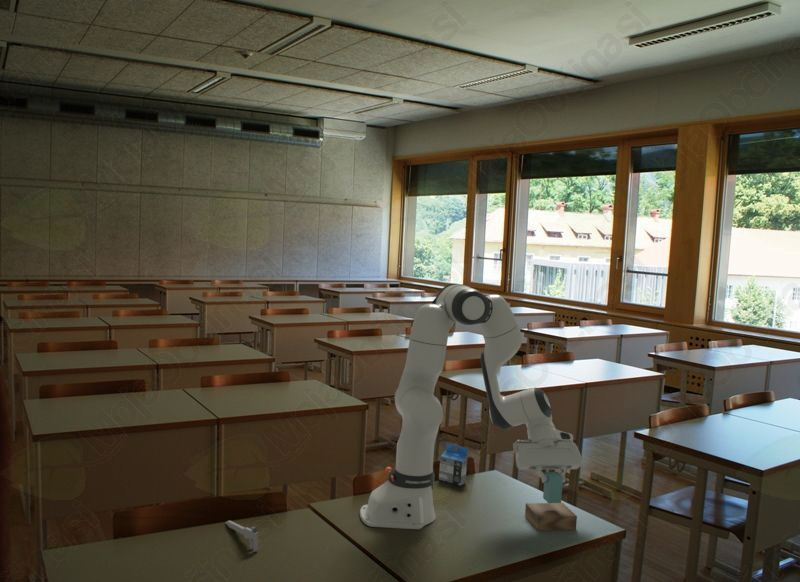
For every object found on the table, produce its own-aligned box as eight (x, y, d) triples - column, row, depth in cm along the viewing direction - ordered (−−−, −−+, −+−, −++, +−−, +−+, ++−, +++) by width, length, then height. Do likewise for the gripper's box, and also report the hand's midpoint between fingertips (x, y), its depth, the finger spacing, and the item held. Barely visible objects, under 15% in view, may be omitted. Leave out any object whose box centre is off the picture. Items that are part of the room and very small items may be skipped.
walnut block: (537, 530, 197) (538, 517, 196) (525, 516, 207) (525, 503, 206) (576, 529, 199) (576, 516, 199) (561, 515, 209) (562, 502, 209)
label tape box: (438, 480, 234) (440, 445, 233) (444, 477, 237) (446, 442, 236) (460, 486, 229) (462, 450, 228) (466, 483, 232) (468, 448, 231)
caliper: (258, 553, 174) (259, 529, 174) (254, 554, 174) (255, 530, 173) (228, 523, 191) (229, 502, 190) (224, 524, 190) (225, 502, 190)
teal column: (548, 503, 200) (550, 476, 199) (543, 497, 204) (544, 472, 203) (561, 502, 201) (562, 476, 200) (555, 497, 205) (557, 471, 204)
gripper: (514, 435, 206) (524, 477, 197) (577, 434, 210) (589, 476, 201) (508, 444, 211) (517, 487, 202) (570, 444, 214) (581, 485, 205)
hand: (554, 482), depth 201 cm, fingers closed on teal column, 4 cm apart
